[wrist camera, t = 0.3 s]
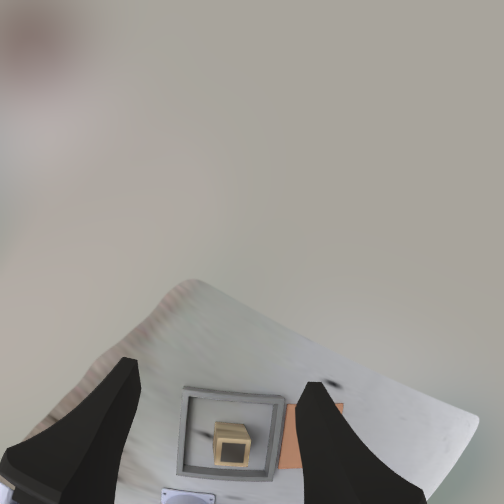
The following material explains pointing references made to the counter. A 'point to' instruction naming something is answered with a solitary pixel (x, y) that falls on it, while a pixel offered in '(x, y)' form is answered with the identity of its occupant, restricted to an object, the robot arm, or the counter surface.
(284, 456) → the place mat
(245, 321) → the counter surface
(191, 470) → the parts tray
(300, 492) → the counter surface
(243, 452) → the part block
